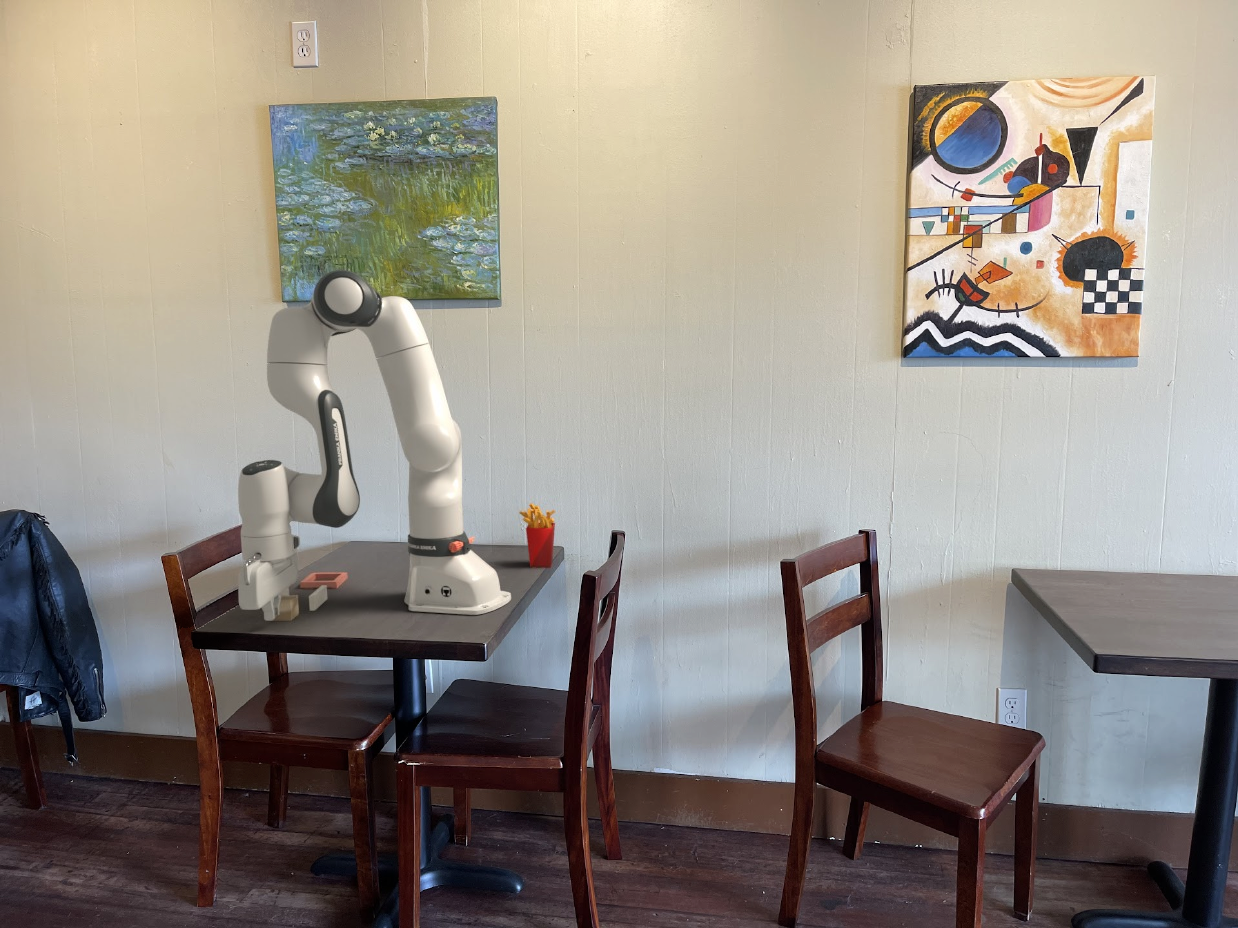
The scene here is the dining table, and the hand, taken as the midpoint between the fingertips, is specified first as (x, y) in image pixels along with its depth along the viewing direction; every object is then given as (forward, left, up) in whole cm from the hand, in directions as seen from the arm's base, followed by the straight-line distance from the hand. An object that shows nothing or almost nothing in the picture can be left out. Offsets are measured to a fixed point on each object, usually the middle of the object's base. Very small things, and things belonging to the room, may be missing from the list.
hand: (272, 618), depth 163 cm
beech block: (+3, -6, -2) cm, 7 cm away
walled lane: (+6, -13, -2) cm, 15 cm away
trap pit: (+13, -28, -2) cm, 31 cm away
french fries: (-24, -60, -2) cm, 64 cm away
